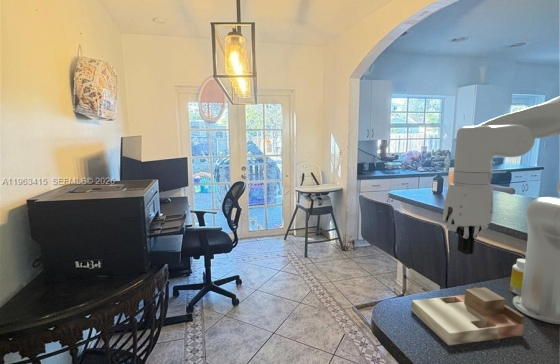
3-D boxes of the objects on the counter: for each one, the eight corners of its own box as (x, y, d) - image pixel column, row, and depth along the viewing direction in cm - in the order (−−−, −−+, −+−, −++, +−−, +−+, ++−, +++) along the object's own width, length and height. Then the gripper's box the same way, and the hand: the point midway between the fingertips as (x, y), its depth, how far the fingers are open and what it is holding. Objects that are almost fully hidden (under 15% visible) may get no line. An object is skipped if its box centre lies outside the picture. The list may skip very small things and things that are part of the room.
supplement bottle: (529, 299, 87) (533, 266, 85) (506, 291, 91) (510, 260, 90) (535, 294, 90) (540, 262, 88) (513, 286, 94) (517, 256, 93)
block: (483, 301, 80) (484, 287, 80) (503, 313, 74) (505, 299, 74) (464, 303, 79) (465, 289, 79) (483, 316, 73) (484, 301, 73)
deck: (474, 303, 84) (476, 287, 84) (522, 335, 71) (524, 316, 70) (411, 310, 81) (412, 293, 80) (448, 345, 67) (450, 325, 67)
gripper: (485, 175, 75) (478, 244, 78) (432, 177, 72) (427, 248, 75) (513, 179, 68) (504, 255, 70) (455, 182, 65) (449, 260, 68)
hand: (465, 252), depth 73 cm, fingers closed
